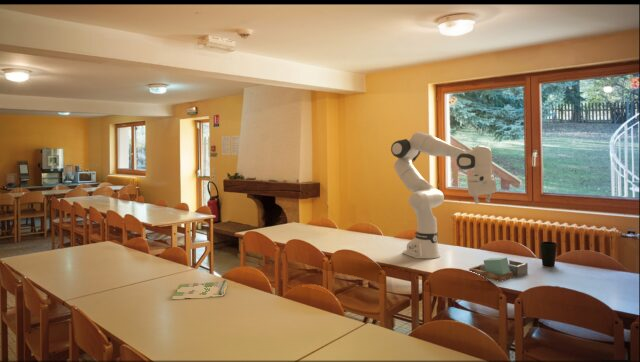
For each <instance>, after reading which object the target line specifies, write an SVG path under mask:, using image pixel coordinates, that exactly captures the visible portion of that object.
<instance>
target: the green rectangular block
mask: <svg viewBox="0 0 640 362" xmlns="http://www.w3.org/2000/svg"><path fill="white" fill-rule="evenodd" d="M478 266H480V271H486V272H489V273H493V274H497V275H503V274H506V273H509V272H510V269H509V260H508V257H490V258H487V259H483V263H482V264H479V265H478Z"/></svg>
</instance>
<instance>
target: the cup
mask: <svg viewBox="0 0 640 362" xmlns="http://www.w3.org/2000/svg"><path fill="white" fill-rule="evenodd" d="M557 247H558V243H557V242H554V241H540V255H541V265H542V266H543V267H545V268H553V267H555V265H556V255H557Z"/></svg>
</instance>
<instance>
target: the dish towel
mask: <svg viewBox="0 0 640 362" xmlns="http://www.w3.org/2000/svg"><path fill="white" fill-rule="evenodd" d="M226 283H227V279H224V280H220V281H211V282H204V283H198V282H195V283H194V282H193V283H183V284H179V285H178V287H177V289H180V288H181V287H194V286H199V285H203V286H204V287H206V288H207V287H212V286H214V287H215V286H216V287H218V288H219V289H218V291H217V292H216V293H214V294H213V295H222V294H224V288H225V286H226ZM227 284H228V283H227ZM206 288H204V289H205V290H206V291H205V292H202V293H199V294H198V295H201V294H202V295H206V294H207V293H206V292H208V291H210V288H209V289H208V288H207V289H206ZM207 290H208V291H207ZM195 292H198V291H195V290H192V291H189V292H176V291H175V292H173V294H172V296H184V295H185V296H186V295H187V294H193V293H195Z"/></svg>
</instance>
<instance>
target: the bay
mask: <svg viewBox="0 0 640 362" xmlns="http://www.w3.org/2000/svg"><path fill="white" fill-rule="evenodd" d="M508 264H509V269H510V271H513V272H514V277H516V276H517V277H516V278H519V277H521V275H522V276H524V275H526V273H527V274H528V273H529V272H528V271H529V270H528V269H529V268H528V266H529V265H528V262H522V261H517V260H513V259H509V260H508ZM518 276H519V277H518Z"/></svg>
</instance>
